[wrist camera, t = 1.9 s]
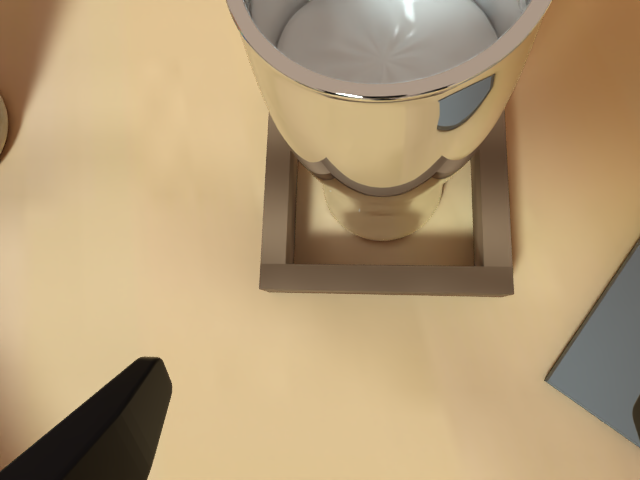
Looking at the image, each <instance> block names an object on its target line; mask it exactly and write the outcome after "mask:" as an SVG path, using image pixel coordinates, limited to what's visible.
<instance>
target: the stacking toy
mask: <svg viewBox="0 0 640 480" xmlns="http://www.w3.org/2000/svg"><path fill="white" fill-rule="evenodd" d="M7 132H8V116H7V110H6V106H5V104H4V101H3V99H2V97H1V95H0V154H1V152H2V150H3V147H4V145H5V141H6V138H7Z"/></svg>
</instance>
